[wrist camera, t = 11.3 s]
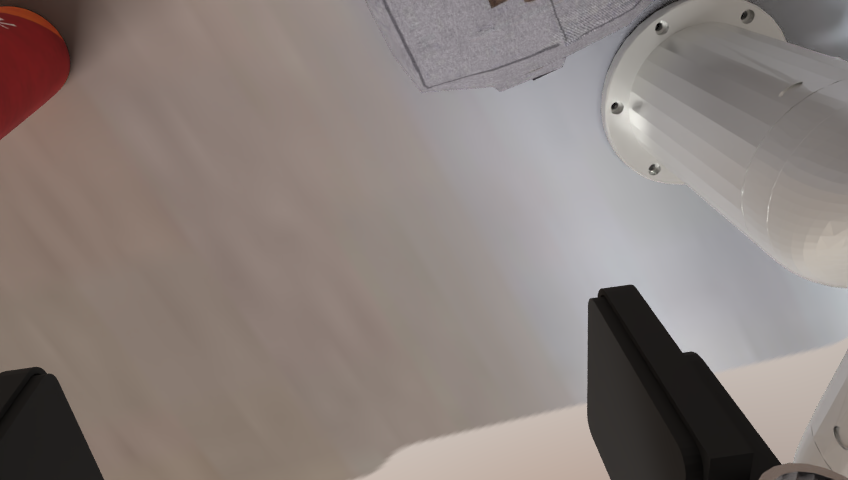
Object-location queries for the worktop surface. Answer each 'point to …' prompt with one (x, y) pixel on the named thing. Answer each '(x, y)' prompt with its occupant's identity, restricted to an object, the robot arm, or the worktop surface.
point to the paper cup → (28, 65)
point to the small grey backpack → (493, 37)
